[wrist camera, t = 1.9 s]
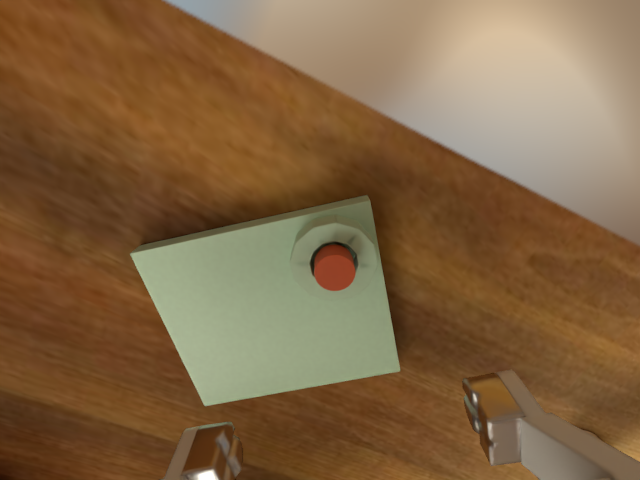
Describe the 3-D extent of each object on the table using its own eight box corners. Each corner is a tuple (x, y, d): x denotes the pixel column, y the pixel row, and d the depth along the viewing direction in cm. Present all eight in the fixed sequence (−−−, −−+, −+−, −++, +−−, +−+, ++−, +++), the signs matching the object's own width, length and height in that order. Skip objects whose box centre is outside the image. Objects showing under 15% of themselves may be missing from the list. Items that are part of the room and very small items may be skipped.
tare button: (348, 240, 20) (351, 250, 19) (356, 274, 21) (359, 287, 20) (310, 248, 20) (310, 259, 19) (319, 282, 21) (319, 294, 20)
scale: (367, 194, 22) (374, 208, 19) (396, 358, 27) (405, 387, 24) (139, 245, 23) (115, 264, 20) (209, 392, 28) (198, 424, 26)
